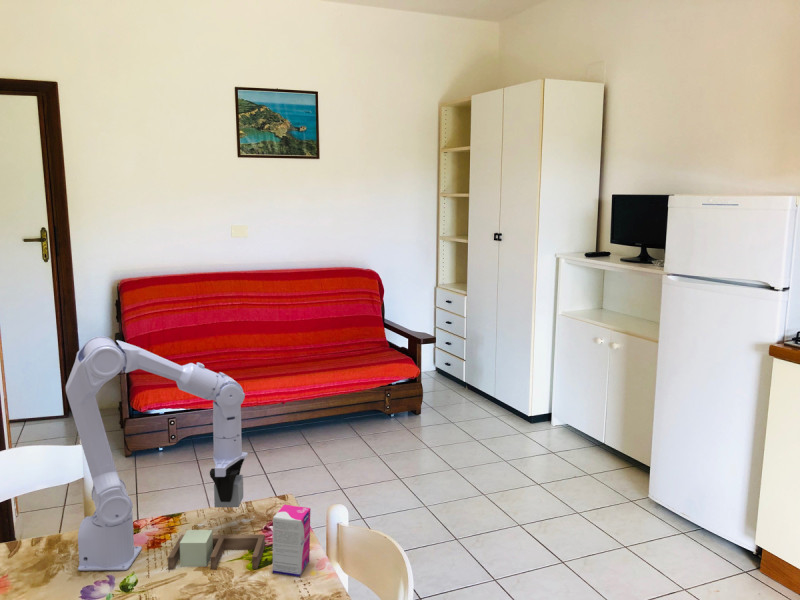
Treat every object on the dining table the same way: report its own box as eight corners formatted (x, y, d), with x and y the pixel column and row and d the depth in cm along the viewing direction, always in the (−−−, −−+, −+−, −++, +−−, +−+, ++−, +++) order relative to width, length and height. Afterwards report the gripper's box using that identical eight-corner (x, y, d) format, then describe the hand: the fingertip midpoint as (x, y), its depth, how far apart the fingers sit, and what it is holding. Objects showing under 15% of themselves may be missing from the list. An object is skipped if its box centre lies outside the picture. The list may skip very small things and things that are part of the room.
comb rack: (168, 569, 123) (167, 557, 123) (181, 546, 132) (181, 534, 131) (257, 568, 124) (257, 556, 124) (264, 545, 133) (264, 534, 132)
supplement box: (300, 577, 122) (300, 520, 120) (271, 573, 123) (270, 517, 121) (311, 561, 127) (311, 506, 125) (283, 557, 128) (282, 503, 127)
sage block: (180, 567, 125) (179, 542, 124) (188, 553, 129) (187, 529, 129) (206, 566, 125) (205, 542, 124) (213, 553, 130) (212, 529, 129)
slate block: (214, 507, 135) (214, 484, 134) (220, 496, 139) (219, 474, 139) (238, 507, 135) (238, 484, 134) (243, 496, 140) (243, 474, 139)
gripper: (239, 446, 128) (240, 511, 130) (253, 422, 142) (254, 480, 144) (203, 446, 128) (205, 511, 130) (220, 422, 142) (222, 480, 144)
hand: (228, 495), depth 137 cm, fingers closed on slate block, 5 cm apart
